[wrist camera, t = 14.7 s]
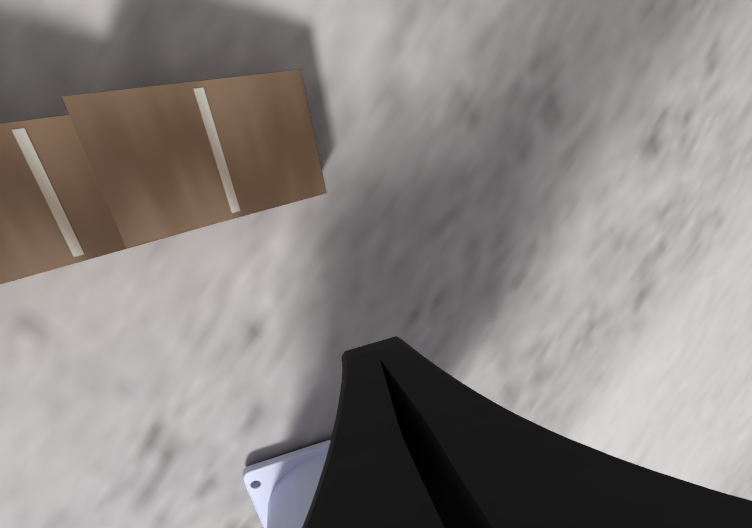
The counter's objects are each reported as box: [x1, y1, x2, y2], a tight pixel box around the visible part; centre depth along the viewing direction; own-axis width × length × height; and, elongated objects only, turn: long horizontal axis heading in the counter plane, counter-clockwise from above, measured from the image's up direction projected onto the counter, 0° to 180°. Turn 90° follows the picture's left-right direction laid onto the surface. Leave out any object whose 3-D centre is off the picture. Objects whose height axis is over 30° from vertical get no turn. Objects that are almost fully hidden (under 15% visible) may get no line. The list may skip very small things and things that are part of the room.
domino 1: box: [0, 115, 191, 284], centre depth 13 cm, size 4×2×7 cm
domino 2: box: [61, 69, 327, 248], centre depth 13 cm, size 4×2×7 cm
